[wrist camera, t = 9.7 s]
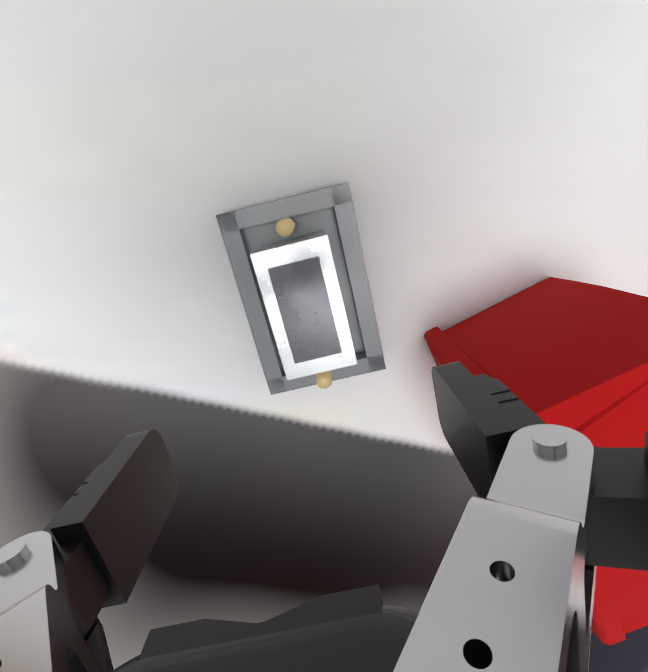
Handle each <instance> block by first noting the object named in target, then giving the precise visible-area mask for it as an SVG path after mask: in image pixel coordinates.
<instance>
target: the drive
mask: <svg viewBox="0 0 648 672" xmlns="http://www.w3.org/2000/svg"><path fill="white" fill-rule="evenodd" d="M250 257H251V260H252V263H253V267H254V270H255V273H256V277H257V280H258V283H259V287H260V290H261V294H262V297H263V300H264V304H265V307H266V310H267V314H268V317H269V320H270V324H271V327H272V330H273V334H274V337H275V340H276V344H277V347H278V350H279V354H280V357H281V360H282V364H283V367H284V371H285V374H286V377H287V380H292V379H296V378H300V377H304V376H309V375H313V374H317V373H321V372H326V371H330V370H334V369H338V368H342V367H347V366H351V365H355V364H357V359H356V355H355V351H354V347H353V342H352V338H351V334H350V330H349V325H348V321H347V317H346V313H345V308H344V304H343V300H342V296H341V291H340V287H339V283H338V279H337V274H336V270H335V266H334V262H333V257H332V253H331V249H330V245H329V240H328V236H327V234H326V232H325V230H321V231H317V232H313V233H309V234H305V235H301V236H298V237H294V238H290V239H286V240H282V241H278V242H274V243H270V244H266V245H263V246H261V247H260V248H258V249H257V250H256V251H254V252H253V253H251V254H250Z"/></svg>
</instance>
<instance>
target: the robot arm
mask: <svg viewBox="0 0 648 672" xmlns="http://www.w3.org/2000/svg"><path fill="white" fill-rule="evenodd" d="M432 378H433V384H434V390H435V396H436V402H437V408H438V415H439V420H440V424H441V427H442V430H443V433H444V436H445V438H446V440H447V441H448V443H449V445H450V447H451V449H452V450H453V452H454V454H455V456H456V457H457V459H458V461H459V463H460V464H461V466H462V468H463V470H464V472H465V473H466V475H467V477H468V479H469V480H470V482H471V484H472V486H473V487H474V489H475V491H476V493H477V494H478V496H473V497H472V498H471V499H470V501H469V503H468V504H467V507H466V509H465V511H464V513H463V515H462V518H461V520H460V522H459V524H458V527H457V529H456V531H455V533H454V536H453V538H452V540H451V542H450V545H449V547H448V549H447V552H446V554H445V556H444V558H443V560H442V563H441V565H440V567H439V569H438V572H437V574H436V576H435V578H434V581H433V583H432V585H431V587H430V590H429V592H428V594H427V596H426V599H425V601H424V603H423V605H422V608H421V610H420V613H418V612H415V611H412V610H409V609H405V608H400V607H396V606H385V605H383V602H382V598H381V594H380V590H379V586H378V585H374V586H369V587H363V588H359V589H353V590H348V591H343V592H338V593H333V594H328V595H323V596H320V597H318V598H315V599H313V600H311V601H309V602H307V603H304V604H302V605H300V606H298V607H296V608H293V609H291V610H289V611H287V612H285V613H282V614H280V615H278V616H276V617H274V618H272V619H270V620H267V621H264V622H261V623H245V622H235V621H223V620H212V619H202V620H197V621H192V622H187V623H182V624H177V625H172V626H167V627H162V628H157V629H151V630H150V632H149V634H148V637H147V640H146V642H145V645H144V647H143V650H142V652H141V655H139V656H137V657H135V658H133V659H131V660H129V661H128V662H126V663H124V664H123V665H121V666H119V667H118V668H116V669H115V670H114V669H113V665H112V660H111V657H110V652H109V648H108V644H107V640H106V636H105V632H104V627H103V625H102V623H101V622H100V620H99V618H98V614H99V612H100V610H101V608H104V607H109V606H114V605H119V604H123V603H126V602H127V600H128V598H129V596H130V594H131V592H132V590H133V588H134V586H135V584H136V581H137V579H138V577H139V575H140V573H141V570H142V569H143V567H144V565H145V563H146V560H147V558H148V556H149V554H150V552H151V550H152V548H153V545H154V544H155V541H156V539H157V537H158V535H159V533H160V531H161V529H162V527H163V525H164V522H165V520H166V518H167V516H168V514H169V512H170V510H171V508H172V505H173V504H174V501H175V499H176V497H177V495H178V490H179V481H178V475H177V472H176V470H175V468H174V465H173V463H172V461H171V458H170V456H169V454H168V451H167V449H166V446H165V444H164V442H163V439H162V437H161V435H160V434H159V433H158V431H156V430H149V431H144V432H140V433H135V434H131V435H127V436H126V437H125V438H124V439H123V440H122V442H121V443H120V444H119V445H118V446H117V448H116V449H115V450H114V451H113V453H112V454H111V455H110V456H109V457H108V459H107V460H106V461H104V462H103V463H102V464H101V465H99V466H98V467H97V468H96V469H94V471H93V472H92V473H91V474H90V475H89V477H88V478H87V479H86V480H85V481H84V485H81V486H80V487H79V488H78V490H77V491H76V492H75V493H74V496H73V497H71V498H70V499H69V500H68V502H67V503H66V504H65V505H64V506H63V508H62V509H61V510H60V511H59V512H58V514H57V515H56V516H55V517H54V518H53V519H52V521H51V522H50V523H49V524H48V526H47V527H46V528H45V529H44V530H43V531H38V532H33V533H30V534H27V535H25V536H22V537H20V538H18V539H16V540H14V541H12V542H10V543H9V544H7V545H5V546H4V547H2V548H1V549H0V672H588V665H589V649H590V638H591V627H592V615H593V604H594V592H595V581H596V570H597V566H601V567H612V568H623V569H633V570H644V571H648V430H647V431H646V433H645V447H635V448H609V447H595V446H593V445H592V443H591V441H590V440H589V439H588V438H587V437H586V436H585V435H583V434H582V433H580V432H578V431H576V430H574V429H571V428H568V427H564V426H560V425H553V424H546V423H545V422H544V421H543V420H542V419H541V418H540V417H539V416H538V415H536V414H535V413H534V412H533V411H532V410H531V409H530V408H529V407H528V406H527V405H526V404H525V403H524V402H523V401H522V400H519V399H518V397H517V396H516V395H515V394H514V393H513V392H512V391H511V392H510V389H509V388H508V387H507V386H505V385H504V384H503V383H502V382H501V381H500V380H498V379H496V378H493V377H491V376H488V375H485V374H480V375H475V376H473V375H472V374H471V373H470V372H469V371H468V370H467V368H466V367H465V366H464V365H463V364H462V363H461V362H460V361H457V362H453V363H448V364H444V365H440V366H435V367H432Z"/></svg>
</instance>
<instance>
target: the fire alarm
mask: <svg viewBox="0 0 648 672" xmlns="http://www.w3.org/2000/svg"><path fill="white" fill-rule="evenodd" d="M424 337H425V339H426V341H427V343H428V346H429V348H430V350H431V353H432V355H433V357H434V359H435V362H436V364H437V366H440V365H444V364H448V363H453V362H457V361H460V362H461V363H462V364H463V365H464V366H465V367H466V368H467V370H468V371H469V372H470V373H471V374H472V375H473V376H475V375H480V374H485V375H488V376H491V377H493V378H496V379H498V380H500V381H501V382H502V383H503V384H504V385H505V386H507V387H508V388H509V389H510V392H511V391H512V392H513V393H514V394H515V395H516V396H517V397H518V399H519V400H522V401H523V402H524V403H525V404H526V405H527V406H528V407H529V408H530V409H531V410H532V411H533V412H534V413H535V414H536V415H538V416H539V417H540V418H541V419H542V420H543V421H544V422H545V423H546V424H553V425H560V426H564V427H568V428H571V429H574V430H576V431H578V432H580V433H582V434H583V435H585V436H586V437H587V438H588V439H589V440H590V441H591V443H592V445H593V446H595V447H609V448H635V447H645V433H646V431H647V430H648V297H645V296H640V295H636V294H632V293H628V292H624V291H620V290H616V289H612V288H608V287H603V286H598V285H593V284H587V283H582V282H577V281H571V280H565V279H559V278H553V277H550V278H548V279H546V280H544V281H542V282H540V283H538V284H536V285H534V286H532V287H530V288H528V289H526V290H524V291H522V292H520V293H518V294H516V295H514V296H512V297H510V298H508V299H506V300H504V301H502V302H500V303H498V304H496V305H494V306H492V307H490V308H488V309H486V310H484V311H482V312H480V313H478V314H476V315H474V316H472V317H470V318H468V319H466V320H464V321H462V322H461V323H459V324H457V325H455V326H453V327H451V328H449V329H447V330H445V331H443V332H442V331H441V330H440V329H439V328H438V327H435V328H433V329H431V330H429V331H427V332H426V333H425V335H424ZM647 625H648V571H644V570H633V569H623V568H612V567H601V566H597V570H596V581H595V592H594V604H593V615H592V627H591V631H592V632H593V633H594V634H595V635H596V636H597V637H598V638H599V639H600V640H601V642H602V643H605V644H608V645H613V644H615V643H618V642H621V641H623V640H626V637H625V634H626V633H629V632H631V631H634V630H637V629H639V628H642V627H645V626H647Z"/></svg>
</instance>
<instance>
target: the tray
mask: <svg viewBox="0 0 648 672" xmlns="http://www.w3.org/2000/svg"><path fill="white" fill-rule="evenodd" d="M216 217H217V220H218V223H219V227H220V230H221V233H222V236H223V240H224V243H225V246H226V249H227V253H228V256H229V259H230V262H231V266H232V269H233V272H234V276H235V279H236V282H237V285H238V289H239V292H240V295H241V298H242V302H243V305H244V308H245V311H246V315H247V318H248V321H249V324H250V328H251V331H252V334H253V337H254V341H255V344H256V347H257V350H258V354H259V357H260V360H261V364H262V367H263V370H264V373H265V377H266V380H267V383H268V386H269V390H270V393H271V395H272V394H276V393H281V392H285V391H289V390H294V389H298V388H303V387H307V386H312V385H316V384H317V385H318V386H319V387H320V388H328V387H329V386H330V385H331V383H332V381H334V380H338V379H342V378H347V377H351V376H356V375H360V374H364V373H369V372H373V371H378V370H382V369H386V368H385V363H384V358H383V353H382V348H381V343H380V338H379V333H378V328H377V323H376V318H375V313H374V308H373V303H372V298H371V293H370V288H369V284H368V279H367V274H366V269H365V264H364V259H363V254H362V249H361V244H360V239H359V234H358V229H357V224H356V219H355V214H354V209H353V205H352V200H351V195H350V190H349V185H348V183H344V184H340V185H336V186H332V187H328V188H324V189H320V190H316V191H312V192H308V193H304V194H300V195H296V196H292V197H288V198H284V199H280V200H276V201H272V202H268V203H264V204H260V205H256V206H252V207H248V208H244V209H240V210H236V211H232V212H228V213H224V214H220V215H216ZM321 230H325V232H326V234H327V236H328V240H329V245H330V249H331V253H332V257H333V262H334V266H335V270H336V274H337V279H338V283H339V287H340V291H341V296H342V300H343V304H344V308H345V313H346V317H347V321H348V325H349V330H350V334H351V338H352V342H353V347H354V351H355V355H356V359H357V364H355V365H351V366H347V367H342V368H338V369H334V370H330V371H326V372H321V373H317V374H313V375H309V376H304V377H300V378H296V379H292V380H287V377H286V374H285V371H284V367H283V364H282V360H281V357H280V354H279V350H278V347H277V344H276V340H275V337H274V334H273V330H272V327H271V324H270V320H269V317H268V314H267V310H266V307H265V304H264V300H263V297H262V294H261V290H260V287H259V283H258V280H257V277H256V273H255V270H254V267H253V263H252V260H251V257H250V254H251V253H253V252H254V251H256V250H257V249H258V248H260V247H261V246H263V245H266V244H270V243H274V242H278V241H282V240H286V239H290V238H294V237H298V236H301V235H305V234H309V233H313V232H317V231H321Z"/></svg>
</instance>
